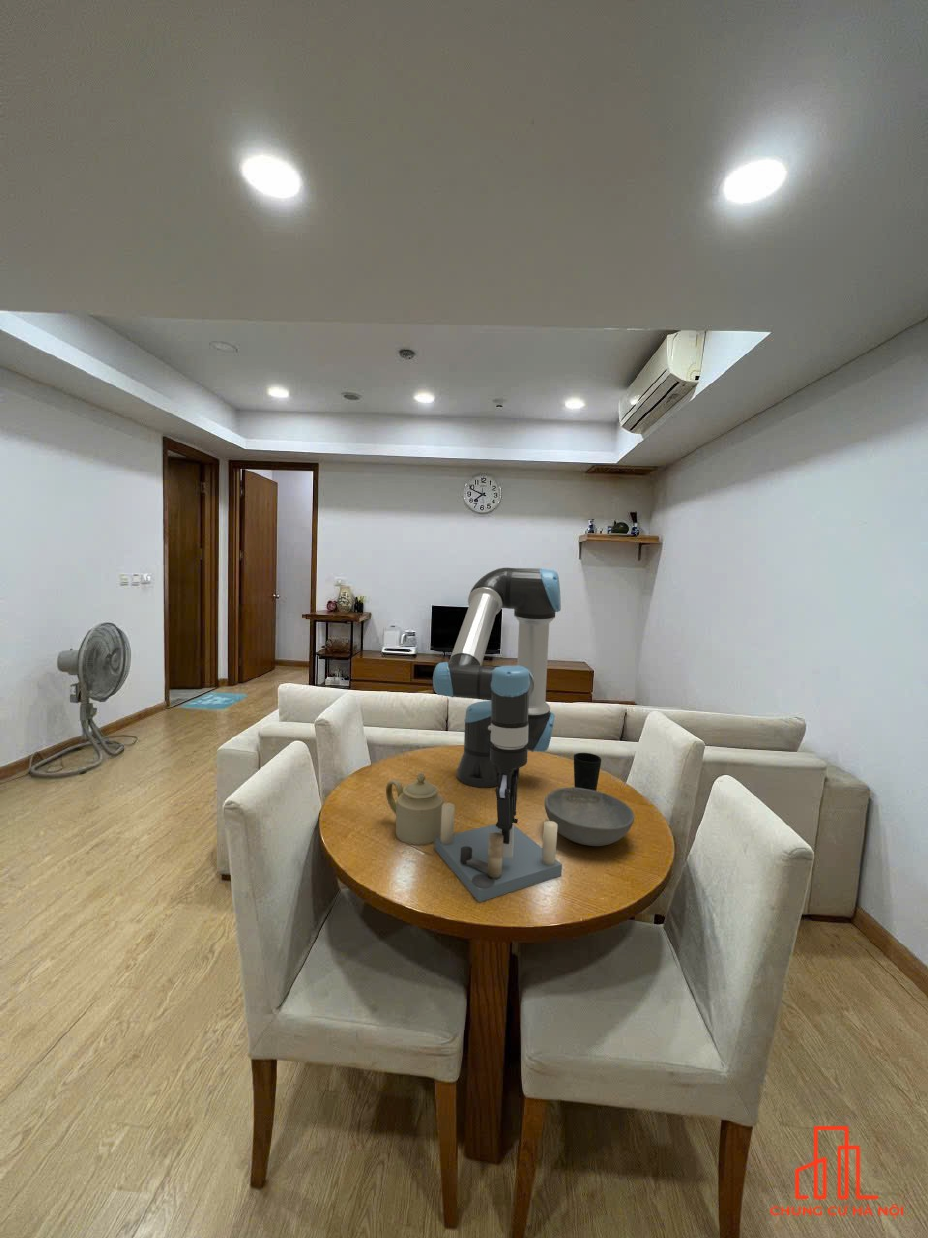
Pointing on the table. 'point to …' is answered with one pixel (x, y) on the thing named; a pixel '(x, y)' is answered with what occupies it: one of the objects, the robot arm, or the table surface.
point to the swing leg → (494, 856)
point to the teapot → (416, 811)
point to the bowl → (588, 816)
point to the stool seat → (517, 871)
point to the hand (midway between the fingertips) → (506, 855)
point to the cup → (586, 770)
